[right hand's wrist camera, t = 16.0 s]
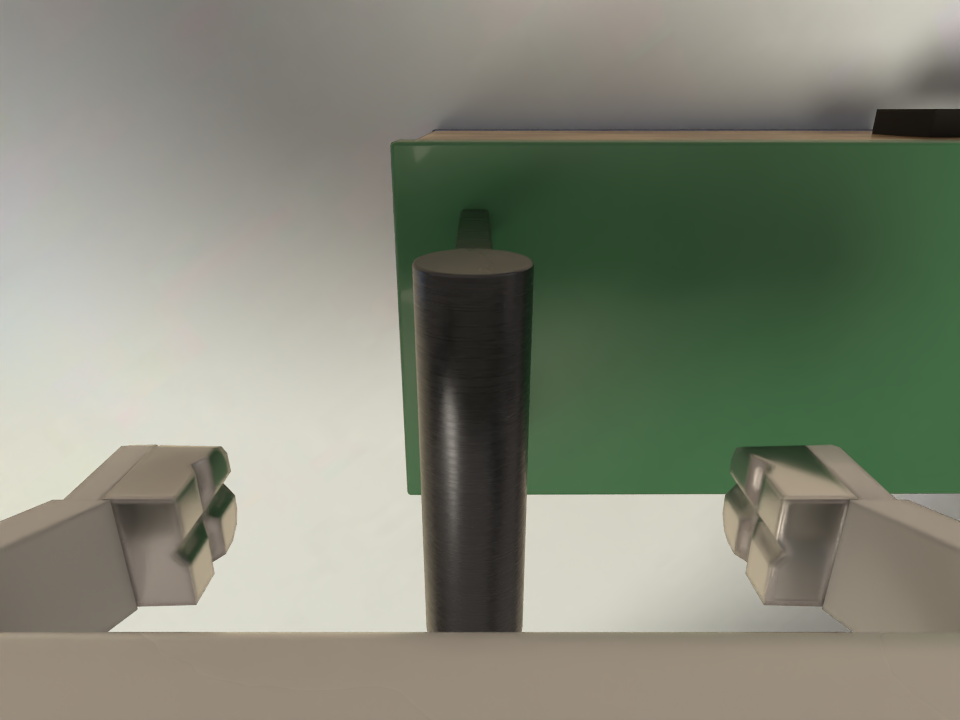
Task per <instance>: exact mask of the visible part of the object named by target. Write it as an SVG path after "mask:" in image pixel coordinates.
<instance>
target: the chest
mask: <svg viewBox="0 0 960 720" xmlns="http://www.w3.org/2000/svg"><path fill="white" fill-rule="evenodd" d="M872 131H873V130H433V132H432V133H429V134H427V135H425V136H423V137H421V138H419V139H417V140H960V138H929V137H911V136H894V135H877V134H872Z"/></svg>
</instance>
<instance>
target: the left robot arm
mask: <svg viewBox="0 0 960 720" xmlns="http://www.w3.org/2000/svg"><path fill="white" fill-rule="evenodd" d="M872 134H877V135H894V136H911V137H929V138H960V109H877V113H876V117H875V122H874V126H873V131H872Z"/></svg>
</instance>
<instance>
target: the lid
mask: <svg viewBox="0 0 960 720" xmlns="http://www.w3.org/2000/svg"><path fill="white" fill-rule="evenodd" d="M390 147H391V168H392V188H393V208H394V228H395V249H396V269H397V289H398V309H399V330H400V350H401V370H402V390H403V411H404V431H405V451H406V471H407V491H408V494H410V495H421V497H422V522H423V547H424V572H425V598H426V623H427V632H522V623H523V592H524V561H525V530H526V499H527V494H727V493H728V492H729V491H730V490H731V489H732V488H733V487H734V486H735V485H736V484H737V483H736V481H735V479H734V478H733V476H732V475H731V473H730V472H729V470H730V464H731V459H732V456H733V454H734V451H735V449H736V448H739V447H751V446H793V445H805V446H807V445H830V444H831V445H835V446H838V447H840V448H841V449H842V450H843V451H845V452H846V453H847V454H848V455H849V456H850V457H851V458H852V459H853V460H854V461H855V462H856V463H858V464H859V465H860V466H861V467H862V468H863V469H864V470H865V471H866V472H867V473H868V474H869V475H871V476H872V477H873V478H874V479H875V480H876V481H877V482H878V483H879V484H880V485H881V486H882V487H884V488H885V489H886V490H887V491H888V492H889V493H890V494H928V493H960V140H397V141H394V142H392V143H391V146H390Z"/></svg>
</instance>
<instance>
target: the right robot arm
mask: <svg viewBox="0 0 960 720" xmlns="http://www.w3.org/2000/svg"><path fill="white" fill-rule="evenodd" d="M230 472H231V470H230V465H229V460H228V455H227V452H226V451H225V450H224V449H223V448H222V447H221V446H172V445H160V446H158V445H128V446H121V447H120V448H119V449H118V450H117V451H116V452H115V453H114V454H112V455H111V456H110V457H109V458H108V459H107V460H106V461H105V462H104V463H103V464H102V465H100V466H99V467H98V468H97V469H96V470H95V471H94V472H93V473H92V474H91V475H90V476H89V477H87V478H86V479H85V480H84V481H83V482H82V483H81V484H80V485H79V486H78V487H77V488H75V489H74V490H73V491H72V492H71V493H70V494H69V495H68V496H67V497H66V498H65V499H64V500H51V501H49V502H46V503H44V504H41V505H39V506H37V507H34V508H32V509H29V510H27V511H24V512H22V513H19V514H17V515H14V516H12V517H10V518H7V519H5V520H2V521H0V720H960V521H958V520H955V519H953V518H950V517H948V516H945V515H943V514H941V513H938V512H936V511H933V510H931V509H928V508H926V507H923V506H921V505H919V504H916V503H914V502H911V501H909V500H897V499H895V498H894V497H893V496H892V495H891V494H890V493H889V492H888V491H887V490H886V489H885V488H884V487H882V486H881V485H880V484H879V483H878V482H877V481H876V480H875V479H874V478H873V477H872V476H871V475H869V474H868V473H867V472H866V471H865V470H864V469H863V468H862V467H861V466H860V465H859V464H858V463H856V462H855V461H854V460H853V459H852V458H851V457H850V456H849V455H848V454H847V453H846V452H845V451H843V450H842V449H841V448H840V447H838V446H835V445H831V444H830V445H807V446H805V445H793V446H751V447H739V448H736V449H735V451H734V454H733V456H732V459H731V464H730V470H729V472H730V473H731V475H732V476H733V478H734V479H735V481H736V483H737V484H736V485H735V486H734V487H733V488H732V489H731V490H730V491H729V492H728V493H727V494H726V495H725V500H724V508H723V522H724V531H725V534H726V537H727V541H728V543H729V545H730V547H731V549H732V551H733V552H734V554H735V555H737V556H739V557H740V558H742V559H743V560H745V561H747V562H748V563H747V568H746V575H747V577H748V579H749V580H750V582H751V584H752V585H753V587H754V589H755V591H756V592H757V594H758V596H759V597H760V599H761V601H762V603H763V604H764V605H785V606H822V607H823V608H822V609H823V610H824V611H826V612H827V613H828V614H830V615H831V616H832V617H834V618H835V619H836V620H838V621H839V622H840V623H842V624H843V625H844V626H846V627H847V628H848V629H850V630H851V631H852V632H108V631H109V630H111V629H112V628H113V627H115V626H116V625H117V624H119V623H120V622H121V621H123V620H124V619H125V618H127V617H128V616H129V615H131V614H132V613H133V612H135V611H136V610H137V609H138V608H137V606H173V605H196V604H197V603H198V601H199V599H200V598H201V596H202V594H203V592H204V591H205V589H206V587H207V585H208V584H209V582H210V580H211V579H212V577H213V575H214V568H213V563H212V562H213V561H215V560H217V559H218V558H220V557H221V556H223V555H225V554H226V552H227V551H228V549H229V547H230V545H231V543H232V541H233V538H234V533H235V529H236V525H237V506H236V499H235V495H234V494H233V493H232V492H231V491H230V490H229V489H228V488H227V487H226V486H225V485H224V484H223V483H224V481H225V479H226V478H227V476H228V475H229V473H230Z"/></svg>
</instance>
